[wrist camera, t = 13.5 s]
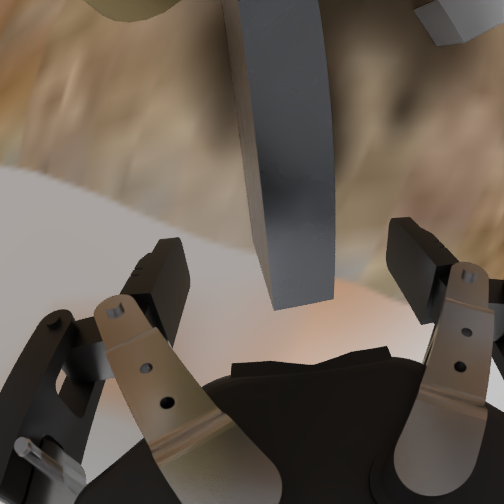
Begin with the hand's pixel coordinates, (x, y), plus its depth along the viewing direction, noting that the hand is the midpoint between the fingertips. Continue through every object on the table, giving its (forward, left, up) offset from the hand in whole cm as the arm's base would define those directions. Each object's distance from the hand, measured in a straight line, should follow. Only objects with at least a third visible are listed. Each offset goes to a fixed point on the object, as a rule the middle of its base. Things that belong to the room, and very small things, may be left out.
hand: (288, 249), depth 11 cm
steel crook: (+4, -8, -5) cm, 10 cm away
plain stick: (-17, -15, -6) cm, 24 cm away
